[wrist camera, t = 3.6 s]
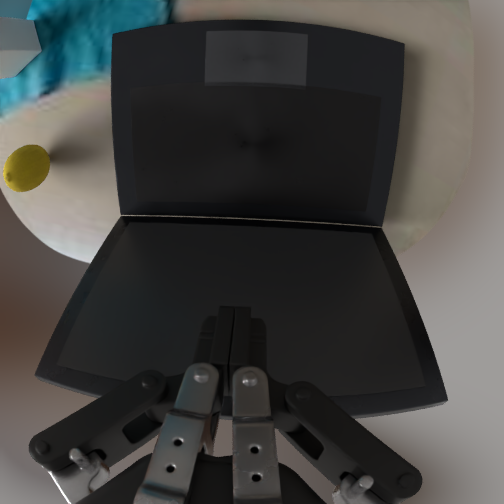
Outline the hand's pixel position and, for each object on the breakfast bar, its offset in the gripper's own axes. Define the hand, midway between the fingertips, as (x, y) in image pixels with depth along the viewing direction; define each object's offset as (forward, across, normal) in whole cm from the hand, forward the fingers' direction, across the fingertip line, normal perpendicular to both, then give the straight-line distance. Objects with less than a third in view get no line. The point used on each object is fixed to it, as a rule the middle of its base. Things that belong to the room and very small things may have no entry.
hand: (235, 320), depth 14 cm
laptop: (+21, 0, -8) cm, 22 cm away
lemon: (+21, +27, -4) cm, 34 cm away
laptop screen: (+9, 0, +5) cm, 10 cm away
